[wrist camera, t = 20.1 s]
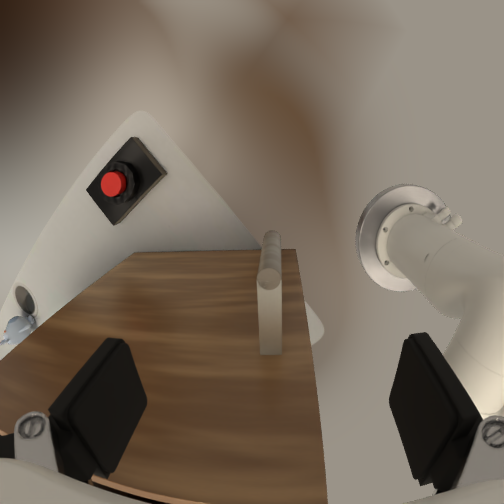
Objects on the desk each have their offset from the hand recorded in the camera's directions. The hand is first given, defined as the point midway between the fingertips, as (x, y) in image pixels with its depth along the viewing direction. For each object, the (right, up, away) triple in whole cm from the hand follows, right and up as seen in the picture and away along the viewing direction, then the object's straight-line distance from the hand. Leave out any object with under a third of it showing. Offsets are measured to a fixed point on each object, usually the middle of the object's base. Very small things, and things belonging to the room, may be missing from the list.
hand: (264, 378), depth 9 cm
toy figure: (-54, -12, +47) cm, 73 cm away
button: (-21, +14, +32) cm, 40 cm away
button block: (-20, +15, +35) cm, 43 cm away
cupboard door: (-7, +7, +37) cm, 38 cm away
